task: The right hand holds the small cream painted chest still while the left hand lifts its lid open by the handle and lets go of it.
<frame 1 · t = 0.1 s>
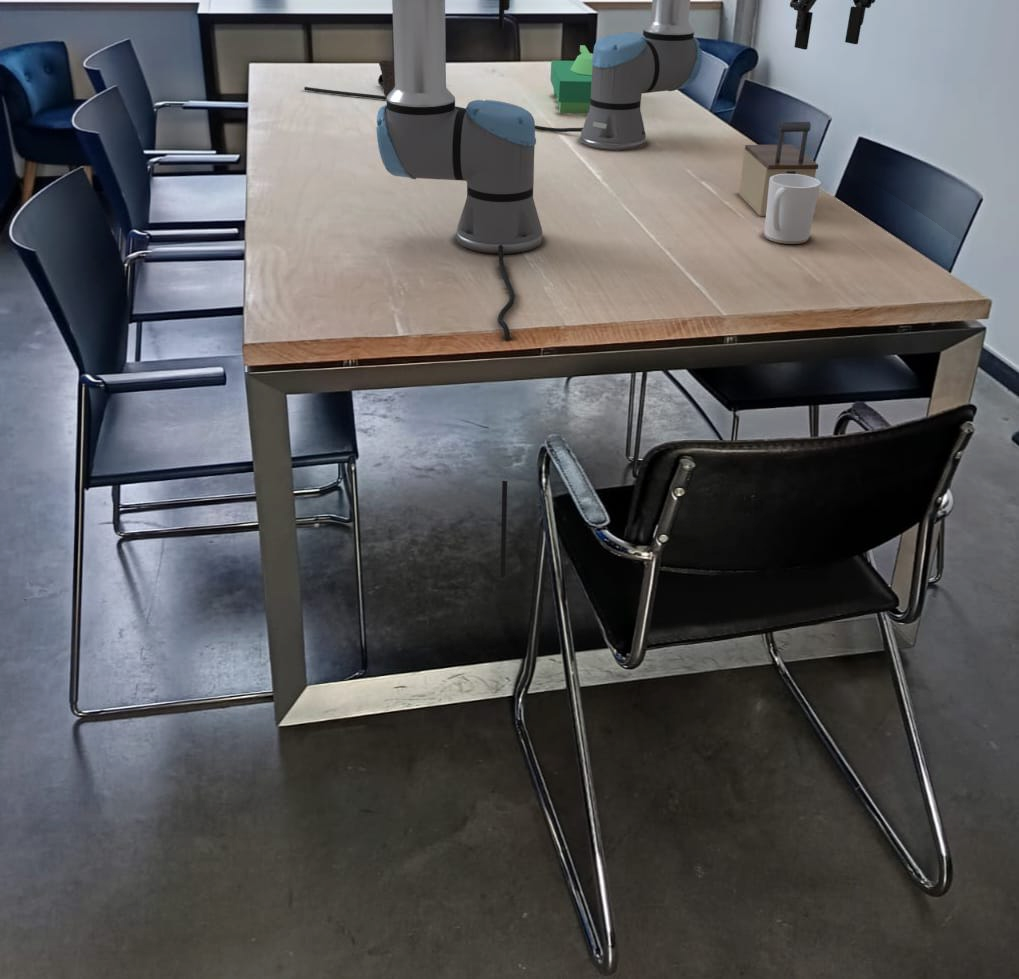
left hand: (468, 26, 224), 28 cm above the table, tool pointing down, fingers open, 13 cm apart
right hand: (826, 45, 213), 28 cm above the table, tool pointing down, fingers open, 13 cm apart
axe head: (403, 91, 300), on the table
chest: (772, 204, 218), on the table
toy tank: (585, 102, 293), on the table
lid: (783, 137, 210), point 13 cm above the table, hinge at 0.0°
mug: (783, 239, 200), on the table
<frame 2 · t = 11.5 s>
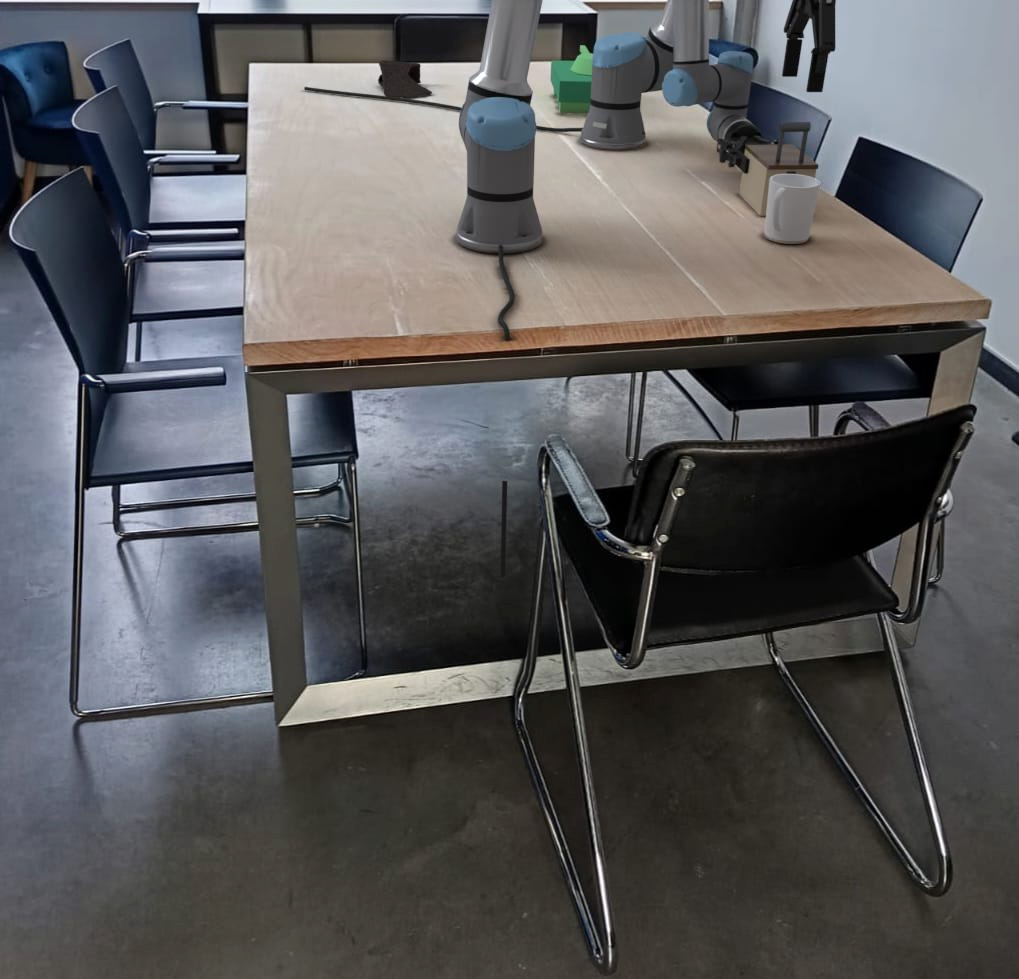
left hand: (801, 84, 201), 24 cm above the table, tool pointing down, fingers open, 13 cm apart
right hand: (772, 166, 217), 7 cm above the table, tool horizontal, fingers closed on chest, 10 cm apart
chest: (773, 204, 218), on the table, touching right hand
everything else where it was.
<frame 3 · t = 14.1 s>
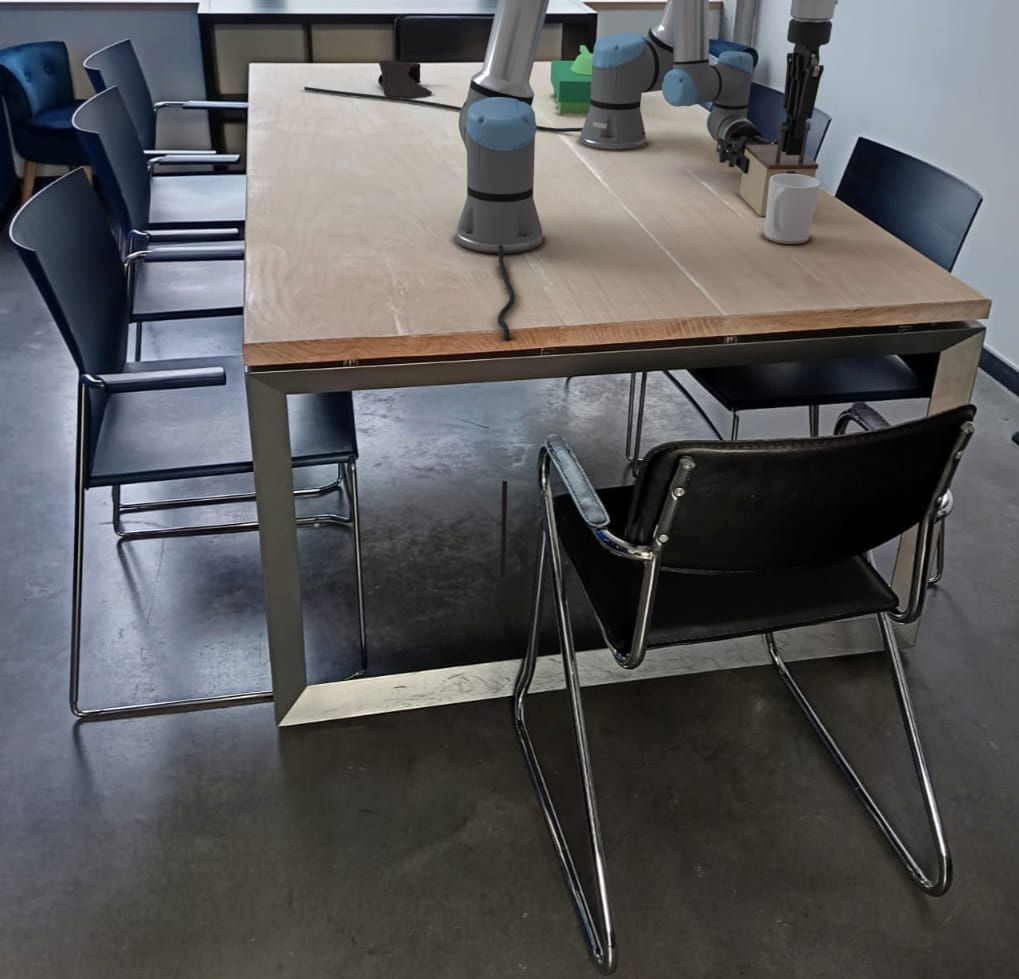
left hand: (790, 152, 207), 12 cm above the table, tool pointing down, fingers closed on lid, 2 cm apart
right hand: (772, 166, 217), 7 cm above the table, tool horizontal, fingers closed on chest, 10 cm apart
chest: (773, 204, 218), on the table, touching right hand
lid: (783, 137, 210), point 13 cm above the table, hinge at 0.0°, touching left hand
everything else where it was.
when the right hand's fingers open (7 cm above the table, at t = 22.0 s): chest stays where it is, on the table.
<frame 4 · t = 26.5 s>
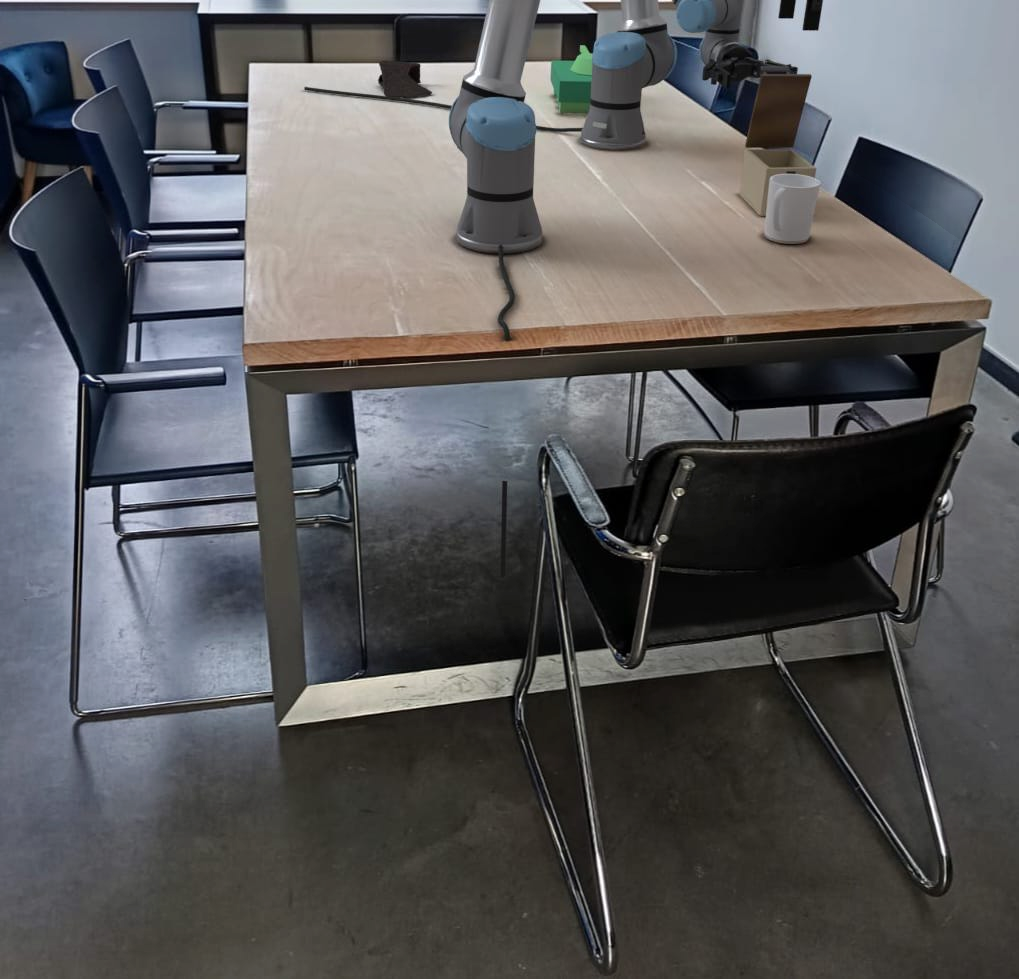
left hand: (797, 24, 201), 33 cm above the table, tool pointing down, fingers open, 13 cm apart
right hand: (761, 81, 222), 20 cm above the table, tool horizontal, fingers open, 13 cm apart
chest: (773, 204, 218), on the table
lid: (772, 102, 215), point 18 cm above the table, hinge at 74.0°
everything else where it was.
at the end: lid at +74° (first picture: +0°); the left hand is holding nothing; the right hand is holding nothing; chest tilted 0°; chest never tilted more than 1° during the clip; chest moved 0.1 cm from its start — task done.
